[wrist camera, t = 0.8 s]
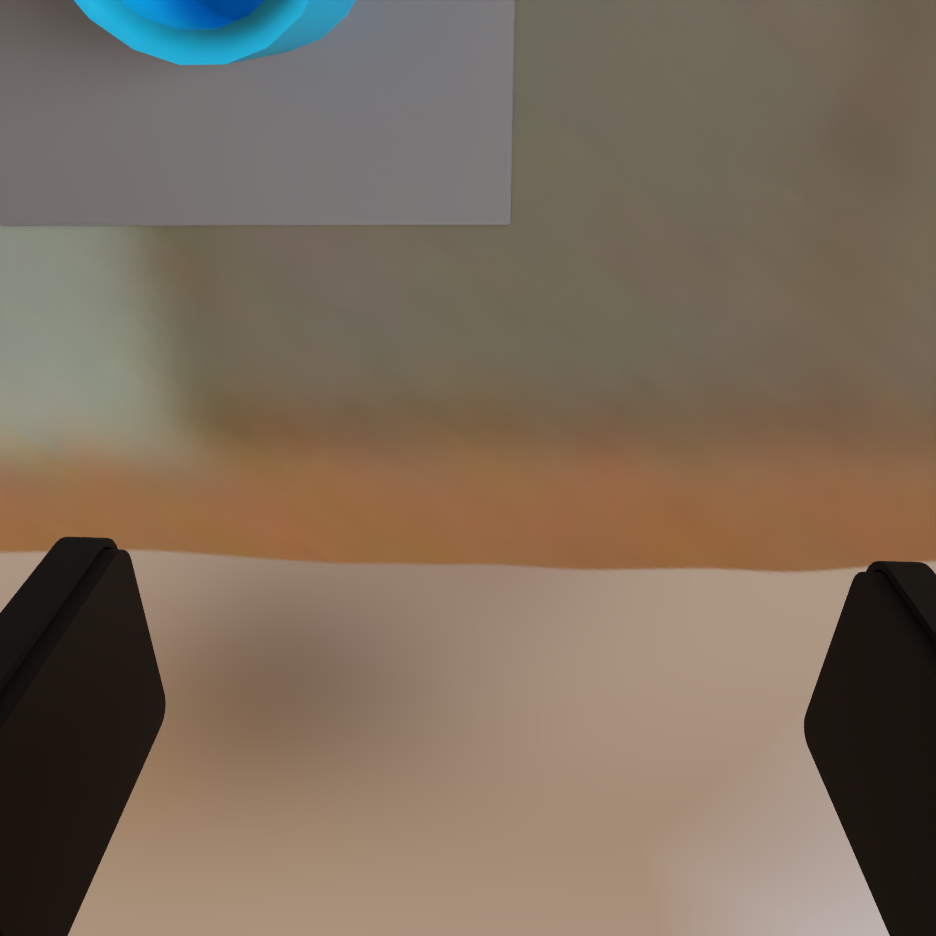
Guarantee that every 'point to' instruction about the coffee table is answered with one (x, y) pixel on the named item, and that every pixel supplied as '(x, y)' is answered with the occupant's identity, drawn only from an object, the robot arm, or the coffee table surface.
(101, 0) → the mug
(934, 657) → the robot arm
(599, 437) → the coffee table surface
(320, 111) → the mat
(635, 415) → the coffee table surface
